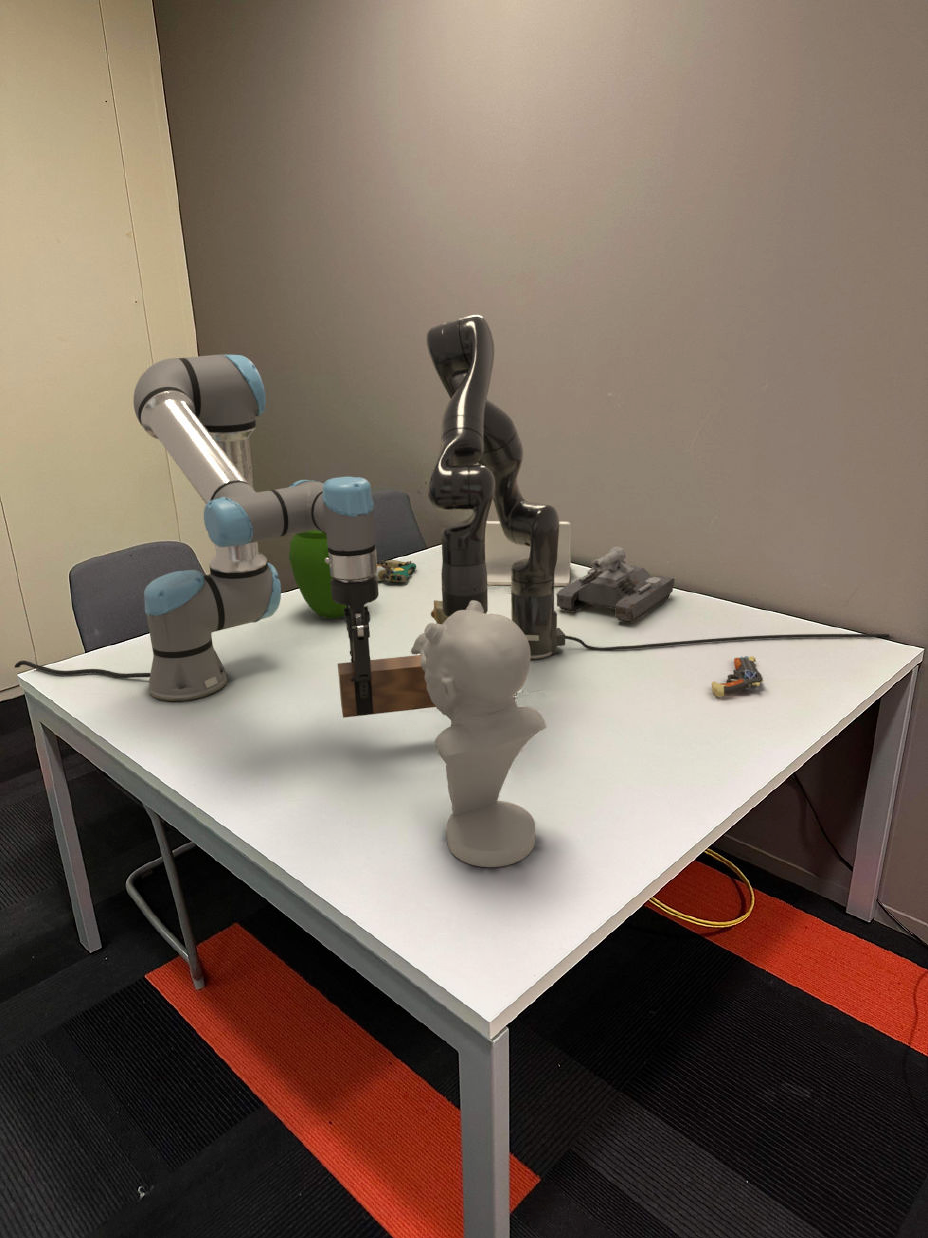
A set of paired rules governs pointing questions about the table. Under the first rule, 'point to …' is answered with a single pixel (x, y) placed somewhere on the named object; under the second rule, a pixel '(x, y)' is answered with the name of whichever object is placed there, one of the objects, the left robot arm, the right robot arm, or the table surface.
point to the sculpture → (438, 612)
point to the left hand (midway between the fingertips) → (363, 706)
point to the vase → (314, 573)
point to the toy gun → (739, 677)
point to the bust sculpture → (481, 729)
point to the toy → (616, 588)
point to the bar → (387, 686)
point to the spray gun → (394, 570)
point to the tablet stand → (521, 555)
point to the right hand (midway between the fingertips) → (467, 678)
